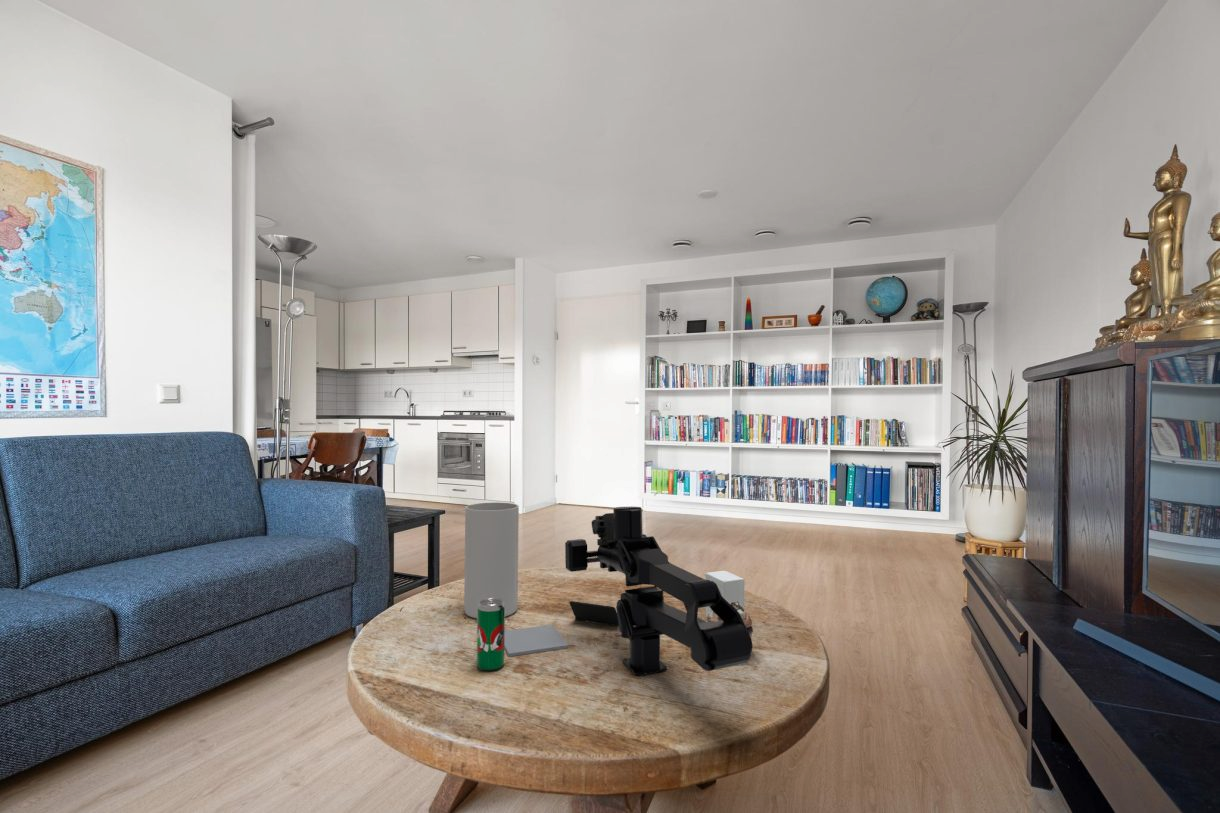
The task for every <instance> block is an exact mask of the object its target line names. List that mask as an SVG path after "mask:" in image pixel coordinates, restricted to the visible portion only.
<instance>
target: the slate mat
mask: <svg viewBox="0 0 1220 813" xmlns="http://www.w3.org/2000/svg"><path fill="white" fill-rule="evenodd" d="M565 649H569V644H568V643H567V642H566V641H565V639H564V637H562V635H561V634H560V632H559V631H558V629H556V627H555V626H554V625H553V624H547V625H538V626H531V627H523V628H515V629H507V630H506V629H505V647H504V651H505V652H506V654H507V656H508V658H510V657H516V656H517V657H518V656H523V655H530V654H536V653H537V654H538V653H544V652H550V651H551V652H552V651H557V650H565Z"/></svg>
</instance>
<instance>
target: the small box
mask: <svg viewBox="0 0 1220 813" xmlns="http://www.w3.org/2000/svg"><path fill="white" fill-rule="evenodd" d="M704 575H705V578H704V579H705V580H710V581H713V582H715V583H716V585H717V586H718V589H719V591H720V593H721V595H722V597H723V598H724V599H725V600H726V601H727V602H728V603H729V604H731V603H732V602H737V601H738V602H739V603H740V604H741V605H742V607H743V608H744V612H745V613H746V611H745V609H746V608H745V606H746V605H745V602H746V601H745V579H744V578H742V577H740V576H738V575H736V574H733V573H731V572H730V571H727V570H720V571H719V570H718V571H712V572H711V571H710V572H708V571H707V572H705V574H704ZM711 612H713V611H712V610H711V608H710V606H708V607H705V618H706V617H708V614H710V613H711Z"/></svg>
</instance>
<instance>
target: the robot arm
mask: <svg viewBox="0 0 1220 813" xmlns="http://www.w3.org/2000/svg"><path fill="white" fill-rule="evenodd" d="M612 511H613V512H609V513H604V514H602V515H595V518H594V519H593V520H591V530H592V533H593V535H597V537H598V538H597V541H596V543H597V546H598V548H597V550H589V551H588V543H587V541H586V539H583V538H581V539H580V538H578V539H569V540H567V541H566V542H565V545H564V549H565V550H564V551H565V552H564V554H565V557H564V558H565V569H566V570H567V571H569V572H580V571H581V572H582V571H587V569H588V564H590V563H599V568H600V569H607V571H608V572H609V573H612V572H613V573H614V572H619V573H621V574H624V576H625V587H627V588H628V587H635V586H642V585H649V586H645V587H638V588H630V589H625V590H624V592H622V593H621V594H620V599H618V600H617V602H616V607H615V609H616V612H617V617H618V625H619V627H618V629H619V630H618V631H619V633H620V637H621V638H622V639H628V640H629V657H626V658H622V663H624V665H625V666H626V667H627V668H628V669H629V670H630V671H631V672H632V674H634V675H635V676H641V675H647V674H648V675H649V674H652V673H658V672H659V673H660V672H665V671H667V670H668V666H667V665H666V664H665V663H663V662H662V660H661V635H664V636H665V637H667V638H670V639H671V640H674V641H675V642H678V643H680V644H681V645H683V646H685V647H687V648H689V650H690V657H691V660H693V662H695V664H697V665H698V666H699V667H701V669H703V670H704V671H706V672H711V671H717V670H721V669H722V670H723V669H725V668H731V667H734V666H735V667H736V666H739V665H744V664H748V662H749V660H750V657H751V653H752V652H753V640H752V636H751V637H750V635H749V633H748V631H747V628H746V626H745V624H744V622H743V620H742V618H741V616H740V614H739V612H738V611H737V610H736V609H735V608H734V607H733V606H731V605H730V604H729V603H728V602H727V601H726V600H725V599H724V598H723V597H722V595H721V593H720V591H719V589H718V586H717V585H716V583H715V582H713V581H710V580H705V578H702V577H700V576H698V575H696V574H694V573H692V572H690V571H687V570H685V569H683V568H682V567H680V566H677V565H675V564H673V563H671V562H670V561H669V556H668V555H667V554H666V553H664V552H663V551H662V549H661V547H660V545H659V544H658V542H657V540H656V538H655V536H652V535H651V536H647V535H646V534H644V533H643V508H642V507H641V506H618V507H617V506H616V507H613V510H612ZM650 585H651V586H650ZM664 592H665V593H667V594H668V595H669V596H672V597H673V598H675V599H677V600H678V601H680V602H682V603H683V605H684V608H685V610H686V611H683V610H681V609H678V608H676V607H674V606H672V605H669V604H667V603H666V602H665V596H664ZM708 606H710V608H711V610H712V611H713V612H714V613H715V614H716V615H717V616H718V617H720V618H721V619H722V620H723V621H724V622H708V621H707V620H704V619H701V618H699V616H698V615H699V609H700V608H706V607H708Z"/></svg>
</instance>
